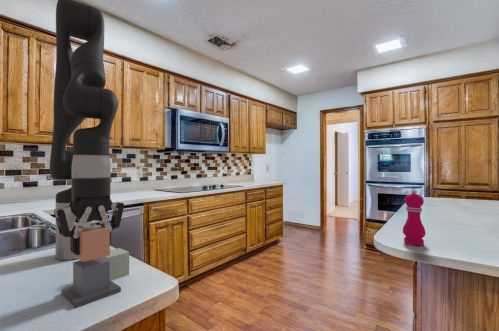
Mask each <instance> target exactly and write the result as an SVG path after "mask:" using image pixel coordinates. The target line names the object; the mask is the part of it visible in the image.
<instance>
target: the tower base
mask: <svg viewBox="0 0 499 331" xmlns="http://www.w3.org/2000/svg"><path fill="white" fill-rule="evenodd" d="M72 268H73V269H72V286H68V287H65V288H62V289H61V292H60V293H61V295H62V296H63V298H64V299H66V301H68V302H69V303H70V304H71V305H72V306H73V307H74V308H75V309H76V308H79V307H82V306H85V305H88V304H90V303H93V302H96V301H99V300H101V299H104V298H107V297H110V296H113V295H115V294H118V293H121V292H122V286H120V285H118V284H117V283H115V282H113V280H111V281H110V261H108V260H106V259H105V258H103V257H101V258H97V259H93V260H89V261H85V262H82V261H80V260H76V261H73V262H72Z"/></svg>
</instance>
